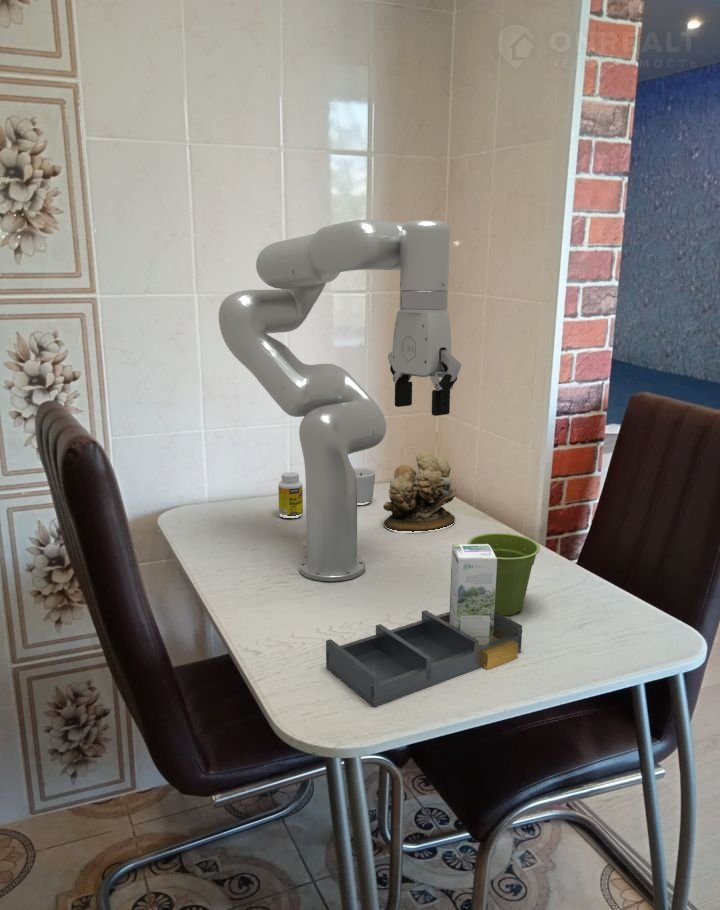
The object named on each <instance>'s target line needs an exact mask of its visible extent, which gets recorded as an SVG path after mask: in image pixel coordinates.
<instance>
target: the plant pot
mask: <svg viewBox="0 0 720 910" xmlns="http://www.w3.org/2000/svg"><path fill="white" fill-rule="evenodd" d="M466 544H489V545H490V547H491V548H492V550H493V552H494V554H495V556H496V558H497V573H496V590H495V606H494V611H495V612H497V613H499V614H501V615H503V616H513V615H516V614H517V613H518V612H521V611H522V610H523V608H524V602H525V598H526V594H527V591H528V586H529V580H530V577H531V573H532V569H533V566H534V564H535V561H536V557H537V555H538V554H539V553H540V551H541V547H540V545H539V543H538V542H537V541H535V540H534V539H532V538H529V537H527V536H524V535H523V536H522V535H518V534H514V533H509V532H508V533H506V532H490V533H482V534H478V535H476V536H473V537H471V538H470V539H468V541H467V543H466Z"/></svg>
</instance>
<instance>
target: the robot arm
mask: <svg viewBox="0 0 720 910" xmlns="http://www.w3.org/2000/svg"><path fill="white" fill-rule="evenodd" d="M449 260H450V228H449V225H448V224H447V223H446V222H445V221H442V220H436V219H435V220H434V219H420V220H410V221H406V222H397V221H389V220H388V221H387V220H386V221H385V220H378V219H377V220H376V219H354V220H349V221H344V222H339V223H335V224H331V225H327V226H323V227H321V228H319V229H318V230H317V231H316V232H315V233H312V234H308V235H304V236H298V237H295V238H289V239H285V240H284V239H283V240H280V241H276V242H273V243H270V244H268V245H266V246H265V247H264V248H263V249H262V250H261V251H260V252H259V254H258V256H257V258H256V262H255V269H256V272H257V274H258V276H259V278H260V279H261V280H262V282H263V283H265V285H267V286H270V287H272V288H274V289H247V290H240V291H236V292H234V293H231V294H229V295H228V296H226V297H225V298H224V299H223V301H222V302H221V304H220V306H219V310H218V325H219V331H220V333H221V336H222V339H223V341H224V343H225V345H226V347H227V348H228V350H229V352H231V354H232V355H233V356H234V358H236V359H237V360H238V361H239V362H240V363H241V364H242V365H243V366H244V367H245V368H246V369H247V370H248V371H249V372H250V373H251V374H252V375H253V376H254V378H255V379H256V380H257V381H258V383H259V384H260V385H261V386H262V387H263V388H264V389H265V391H266V392H267V393H268V395H270V397H271V398H272V399H273V401H275V403H276V404H277V405H278V406H279V407H280V409H281V410H282V411H283V412H284V413H286V415H288V416H291V417H294V418H301V417H303V418H302V420H301V422H300V424H299V431H298V434H299V442H300V446H301V451H302V452H301V453H302V455H303V463H304V473H305V475H304V476H305V477H304V479H305V507H306V508H305V511H306V515H305V516H306V517H305V518H306V520H305V521H306V540H304V541H303V542H302V547H303V548H304V549H305V550H306V556H305V557H303V558H302V559H301V560H300V561H299V563H298V570H299V572H300V573H301V575H302V574H303V575H302V576H304V577H305V578H309V579H310V580H314V581H320V582H342V581H347V580H352V579H355V578H357V577H359V576H361V575H362V574H363V573H364V572H365V570H366V562H365V560H364V559H363V558H361V557H360V556H358V506H357V479H356V474H355V471H354V469H353V468H354V467H353V465H352V463H351V460H350V458H349V455H351V454H354V453H359V452H361V451H365V450H369V449H372V448H374V447H376V446H378V445H379V444H380V443H381V442H382V441H383V440H384V439H385V435H386V434H387V433H386V432H387V424H386V423H387V421H386V417H385V415H384V413H383V412H382V410H381V408H380V406H379V405H378V404H377V403H376V401H375V400H374V399H373V398H372V397H371V396H370V394H369V393H367V391H366V389H364V388H363V387H362V386H361V385H360V384H359V383H358V382H357V380H356V379H355V378H354V377H353V376H352V375H351V374H350V373H349V372H348V371H347V370H345V368H343V367H341V366H339V365H336V364H334V363H319V364H318V363H317V364H306V363H303V362H302V361H300V359H299V358H298V357H297V356H296V355H295V354H294V353H293V352H292V351H291V350H290V348H289V347H288V346H286V345H285V344H284V343H282V342H281V341H279V340H278V339H276V338H275V337H272V336H271V335H269V334H279V333H288V332H293V331H296V330H297V329H298V328H299V327H301V326H302V324H303V323H304V322H305V320H306V319H307V317H308V316H309V314H310V312H311V311H312V309H313V307H314V305H315V304H316V303H317V300H318V299H319V297H320V296H321V294H322V292H323V290H324V289H325V286H326V285H327V283H330V282H332V281H334V280H335V279H337V278H338V277H339V275H340V274H341V273H343V272H350V271H359V270H360V271H361V270H364V271H366V270H370V271H371V270H372V271H373V270H376V271H377V270H379V271H380V270H382V271H399V310H398V311H397V313H396V316H395V321H394V329H393V338H392V351H390V352H389V353H388V354H387V359H388V363H389V366H390V367H389V370H390V372H391V375H392V381H393V382H394V406H395V407H397V408H401V407H409V406H412V404H413V381H410V380H411V379H412V377H419V378H427V377H429V379H430V381H431V382H432V385H433V387H434V389H432V391H431V415H432V416H434V417H435V416H436V417H438V416H446V415H449V414H450V412H451V411H450V409H451V390H453V389H454V384H455V383H456V381H457V380H458V375H459V373H460V370H461V368H462V363H460V361H458V359H456V357H455V356H453V354H452V335H451V333H452V332H451V325H450V323H451V322H450V317H449V312H448V302H449V300H448V299H449V297H448V296H449V292H448V290H449V266H450V265H449V264H450V263H449ZM440 378H441V379H440Z"/></svg>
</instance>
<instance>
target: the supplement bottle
mask: <svg viewBox="0 0 720 910" xmlns="http://www.w3.org/2000/svg"><path fill="white" fill-rule="evenodd" d="M299 474H300V473H298V472H296V471H287V472H283V473H281V481H279V482H278V486H277V489H278V514H279V513H280V514H282V515H287V516H296V515H300V514H302V513H304V509H303V508H304V506H303V504H304V503H303V502H304V501H303V500H304V499H303V482H302V481H300V475H299ZM302 515H303V514H302Z"/></svg>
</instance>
